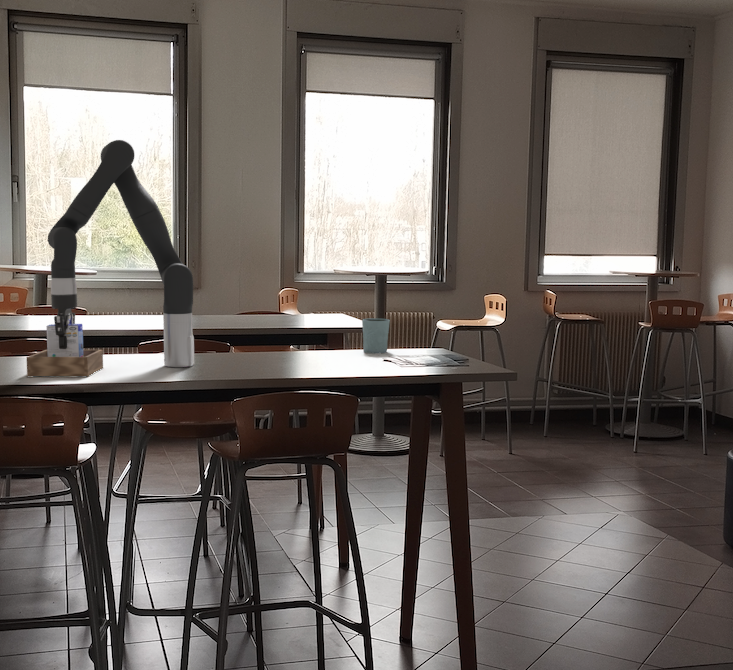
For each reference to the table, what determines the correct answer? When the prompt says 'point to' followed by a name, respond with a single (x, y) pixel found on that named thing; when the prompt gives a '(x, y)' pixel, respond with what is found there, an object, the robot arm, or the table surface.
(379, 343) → the grey tapered piece
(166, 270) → the robot arm
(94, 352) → the walled box
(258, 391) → the table surface
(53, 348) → the ink cartridge box
